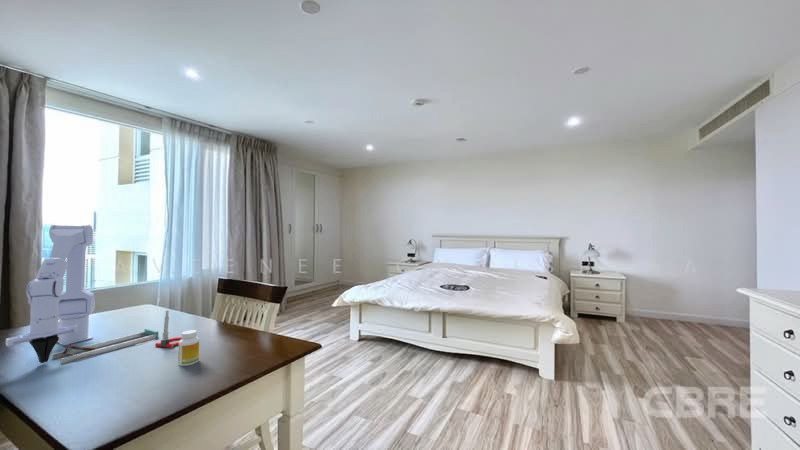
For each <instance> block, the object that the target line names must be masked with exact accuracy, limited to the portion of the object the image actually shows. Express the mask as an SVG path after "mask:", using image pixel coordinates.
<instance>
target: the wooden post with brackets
mask: <svg viewBox="0 0 800 450" xmlns="http://www.w3.org/2000/svg"><path fill="white" fill-rule="evenodd" d="M62 347H63V348H64V350H63V351H64V352H63V353H62V355H61V357H59V359H61V358H64V357H69V356H73V355H76V353H75V354H71V353H70V354H67V355H66V354H65V353H66V352H68V351H70V350H72V349H75V350H85V351H84V352H88V351H92V350H96V349H97V348H96V347H94V348H85V347H83V346H80V345H72V343H71V344H66V345H63V346H62ZM67 350H68V351H67ZM64 355H66V356H64Z"/></svg>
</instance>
